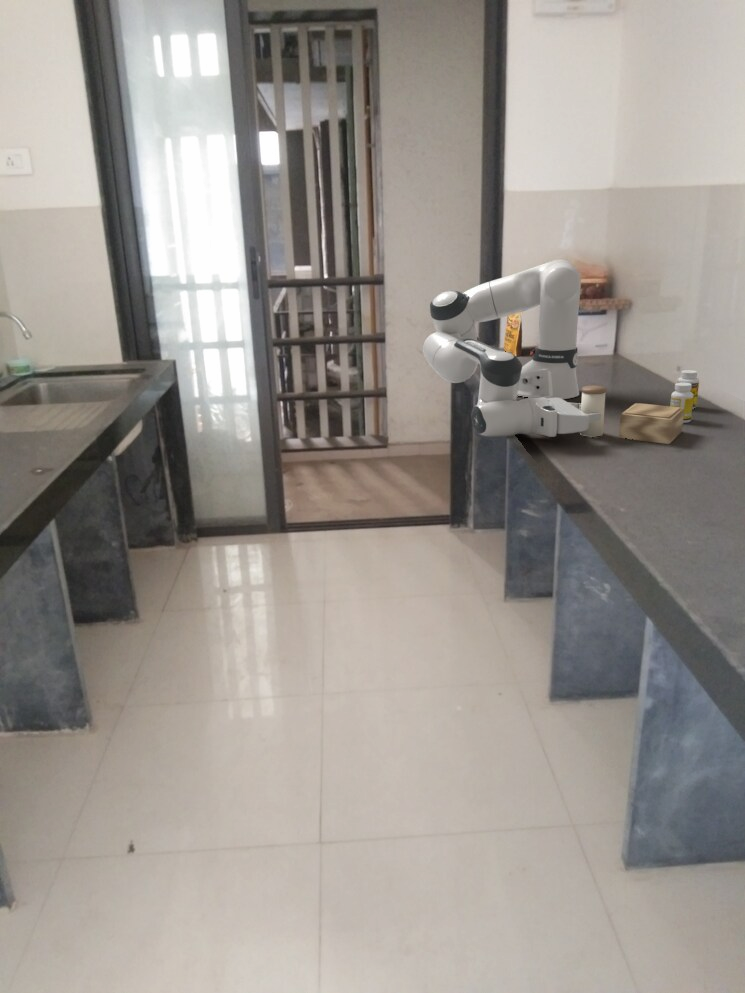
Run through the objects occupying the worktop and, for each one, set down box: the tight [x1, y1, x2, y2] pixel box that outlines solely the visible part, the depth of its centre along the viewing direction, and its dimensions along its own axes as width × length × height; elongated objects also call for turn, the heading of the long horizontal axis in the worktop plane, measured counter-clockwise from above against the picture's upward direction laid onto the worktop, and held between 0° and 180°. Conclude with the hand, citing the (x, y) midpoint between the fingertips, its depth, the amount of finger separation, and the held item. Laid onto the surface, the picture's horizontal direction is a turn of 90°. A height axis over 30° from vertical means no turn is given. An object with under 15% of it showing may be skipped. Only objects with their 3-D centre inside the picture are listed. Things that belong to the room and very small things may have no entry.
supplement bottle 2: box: [669, 382, 693, 424], centre depth 201 cm, size 5×5×10 cm
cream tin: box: [579, 385, 607, 438], centre depth 193 cm, size 6×6×12 cm
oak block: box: [618, 402, 684, 445], centre depth 191 cm, size 12×12×6 cm
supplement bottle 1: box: [676, 369, 700, 410], centre depth 213 cm, size 6×6×10 cm
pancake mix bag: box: [503, 312, 523, 357], centre depth 296 cm, size 7×19×28 cm, turn 2°
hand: (592, 411), depth 193 cm, fingers open, 8 cm apart
